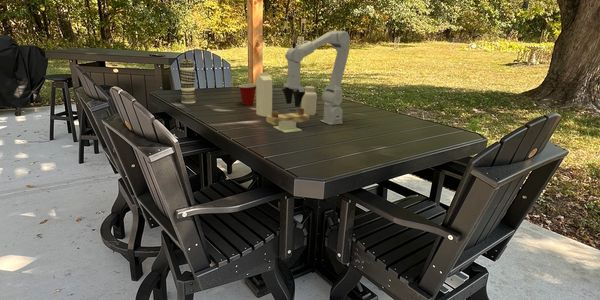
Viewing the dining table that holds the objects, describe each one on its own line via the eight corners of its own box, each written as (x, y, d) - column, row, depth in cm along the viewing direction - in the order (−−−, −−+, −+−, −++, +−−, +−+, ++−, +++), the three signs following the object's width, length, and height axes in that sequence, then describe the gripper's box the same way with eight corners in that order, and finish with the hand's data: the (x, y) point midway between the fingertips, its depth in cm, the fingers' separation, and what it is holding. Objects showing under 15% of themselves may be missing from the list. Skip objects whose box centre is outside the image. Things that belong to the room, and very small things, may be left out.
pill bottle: (316, 116, 207) (317, 88, 202) (301, 115, 207) (302, 87, 202) (315, 113, 214) (317, 86, 210) (301, 112, 215) (302, 85, 210)
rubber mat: (302, 130, 176) (302, 129, 176) (285, 132, 172) (285, 132, 171) (289, 125, 185) (289, 124, 185) (273, 127, 180) (273, 126, 180)
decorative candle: (180, 100, 235) (177, 58, 227) (196, 100, 238) (194, 58, 230) (180, 103, 226) (178, 60, 219) (196, 103, 229) (194, 60, 222)
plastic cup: (236, 103, 233) (235, 83, 229) (253, 102, 237) (253, 83, 234) (241, 107, 223) (241, 86, 220) (259, 106, 228) (259, 85, 224)
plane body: (300, 118, 201) (300, 106, 199) (309, 121, 195) (309, 109, 193) (266, 121, 191) (266, 109, 189) (274, 125, 184) (274, 112, 183)
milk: (272, 115, 205) (272, 73, 198) (262, 116, 201) (263, 73, 194) (264, 113, 209) (265, 72, 203) (255, 114, 205) (256, 72, 199)
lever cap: (291, 126, 182) (291, 120, 181) (296, 128, 178) (296, 122, 177) (278, 127, 178) (278, 121, 177) (282, 129, 175) (283, 123, 174)
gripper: (278, 74, 180) (277, 103, 184) (294, 77, 168) (294, 108, 172) (291, 73, 184) (290, 101, 188) (308, 77, 172) (307, 107, 176)
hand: (293, 105), depth 180 cm, fingers open, 7 cm apart
